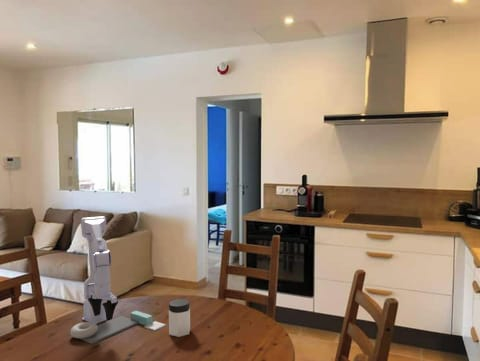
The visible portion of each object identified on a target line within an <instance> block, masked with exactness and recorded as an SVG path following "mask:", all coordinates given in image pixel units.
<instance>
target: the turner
mask: <svg viewBox="0 0 480 361" xmlns="http://www.w3.org/2000/svg"><path fill="white" fill-rule="evenodd" d="M130 319H132V320H135V321H137V322H138V324H140V325H142V326H143V327H144V328H145V329H148V330H150V331H153V332H156V331H158V330H159V329H162V328H164V327H165V326H166V325H167V324H166V323H162V322H159V321H157V320H154V321H153V315H151V314H149V313H145V312H141V311H140V310H133V311H132V312H130Z"/></svg>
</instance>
